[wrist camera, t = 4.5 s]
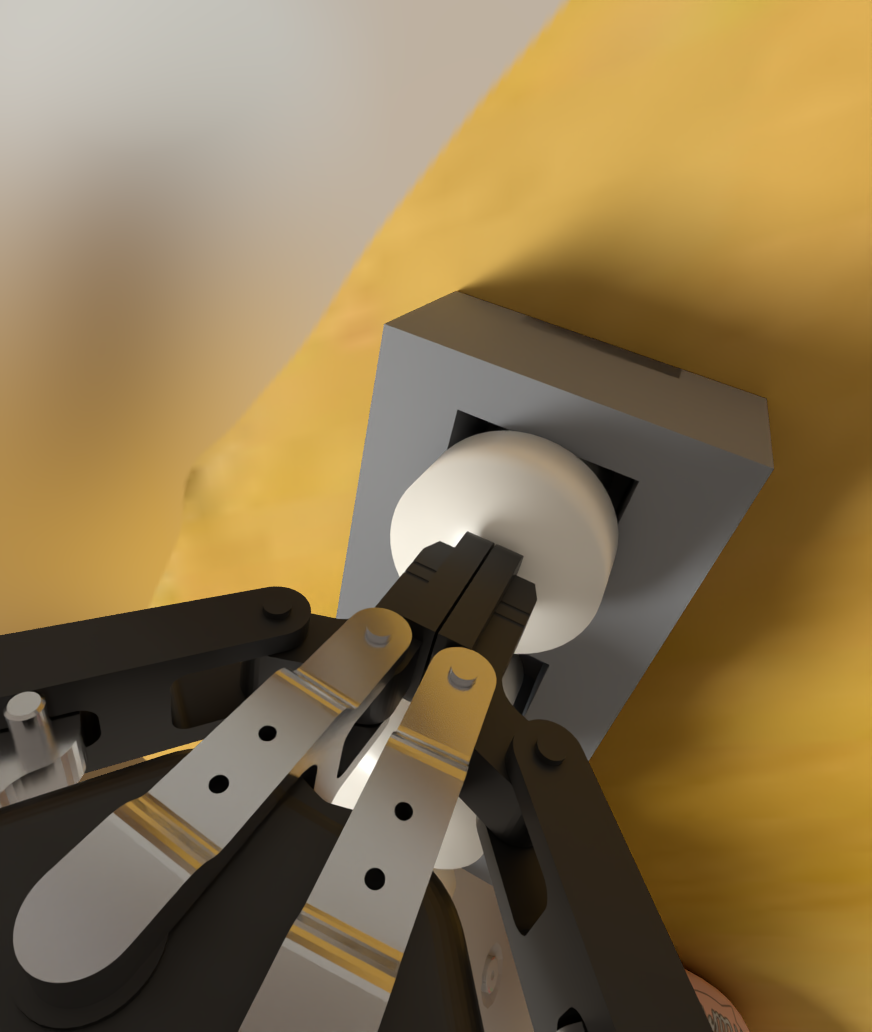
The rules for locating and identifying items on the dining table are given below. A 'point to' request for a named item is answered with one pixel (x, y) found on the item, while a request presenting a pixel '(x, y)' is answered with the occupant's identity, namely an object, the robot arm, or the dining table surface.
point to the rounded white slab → (490, 956)
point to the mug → (717, 1007)
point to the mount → (588, 435)
